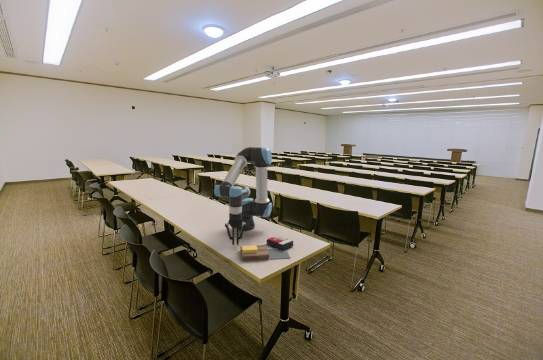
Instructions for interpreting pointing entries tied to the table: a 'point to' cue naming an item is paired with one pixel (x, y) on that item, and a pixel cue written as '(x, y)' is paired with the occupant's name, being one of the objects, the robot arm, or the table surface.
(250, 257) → the brown wooden slab
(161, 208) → the table surface
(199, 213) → the table surface
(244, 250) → the butter yellow block
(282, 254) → the mat
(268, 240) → the calculator
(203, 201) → the table surface
